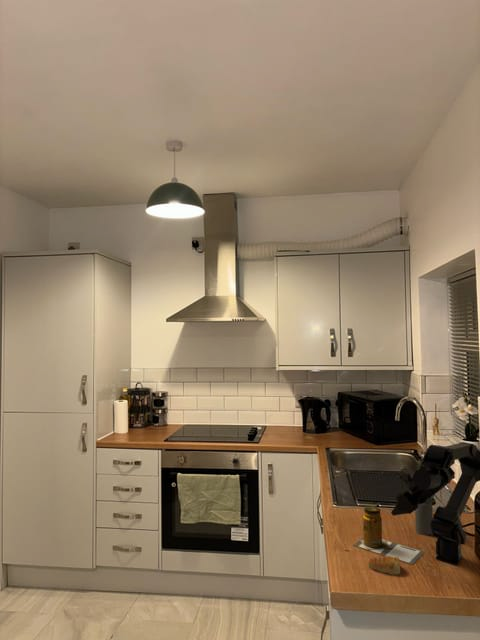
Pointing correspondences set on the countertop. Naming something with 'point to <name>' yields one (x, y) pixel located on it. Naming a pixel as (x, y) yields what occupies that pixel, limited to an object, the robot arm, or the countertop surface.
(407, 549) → the mat
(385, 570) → the pastry
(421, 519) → the bottle
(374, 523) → the condiment
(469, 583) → the countertop surface
